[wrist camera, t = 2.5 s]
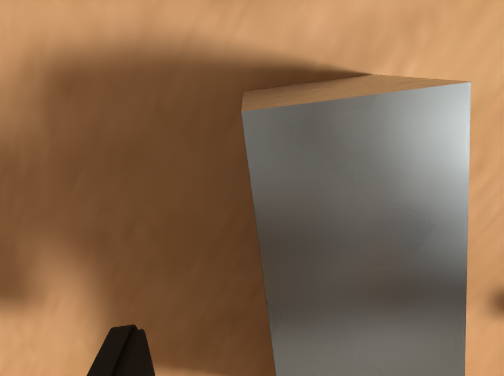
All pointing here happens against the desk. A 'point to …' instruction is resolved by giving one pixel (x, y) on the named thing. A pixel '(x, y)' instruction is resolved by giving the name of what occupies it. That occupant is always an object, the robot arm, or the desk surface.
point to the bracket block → (362, 223)
